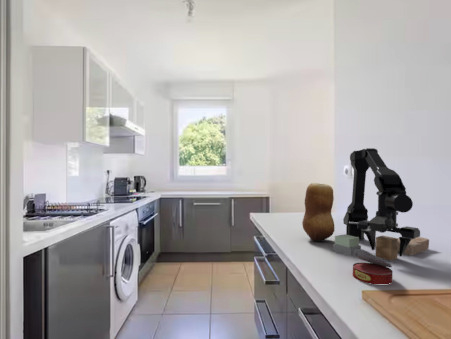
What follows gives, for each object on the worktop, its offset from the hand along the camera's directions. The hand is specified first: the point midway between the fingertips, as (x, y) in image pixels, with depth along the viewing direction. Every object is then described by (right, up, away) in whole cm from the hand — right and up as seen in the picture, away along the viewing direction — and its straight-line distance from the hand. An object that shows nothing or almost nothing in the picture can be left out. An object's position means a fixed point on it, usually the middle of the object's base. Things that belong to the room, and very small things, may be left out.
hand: (386, 253), depth 99 cm
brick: (+15, -3, +11) cm, 19 cm away
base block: (-11, -2, +7) cm, 13 cm away
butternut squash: (-17, -2, +24) cm, 29 cm away
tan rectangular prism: (0, -2, 0) cm, 2 cm away
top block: (-11, +1, +7) cm, 13 cm away
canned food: (-16, -1, -21) cm, 26 cm away
